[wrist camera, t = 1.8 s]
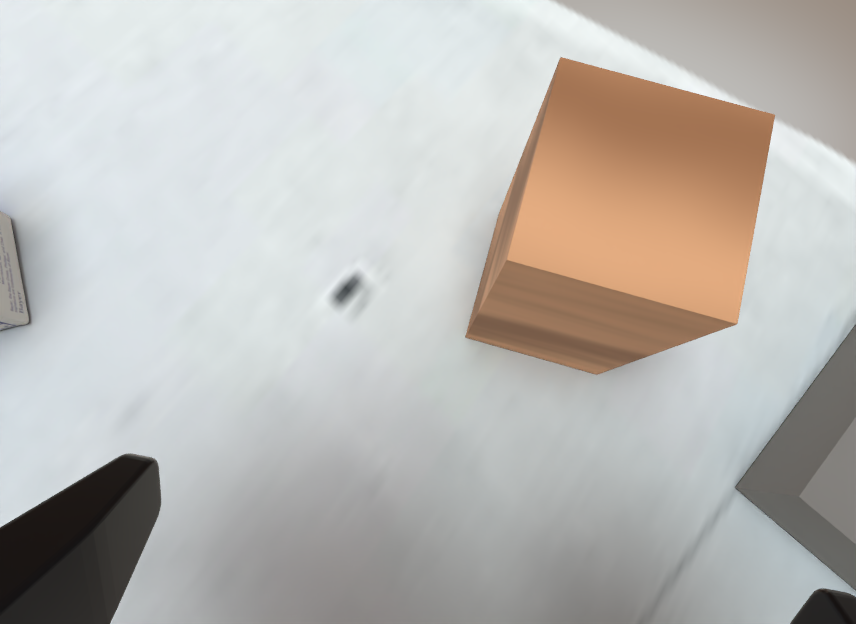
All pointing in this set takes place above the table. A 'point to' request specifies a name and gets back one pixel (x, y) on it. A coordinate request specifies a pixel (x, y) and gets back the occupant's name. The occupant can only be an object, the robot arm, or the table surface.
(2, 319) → the medicine box
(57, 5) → the table surface
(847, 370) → the gray tray
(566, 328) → the terracotta block
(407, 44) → the table surface
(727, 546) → the table surface
